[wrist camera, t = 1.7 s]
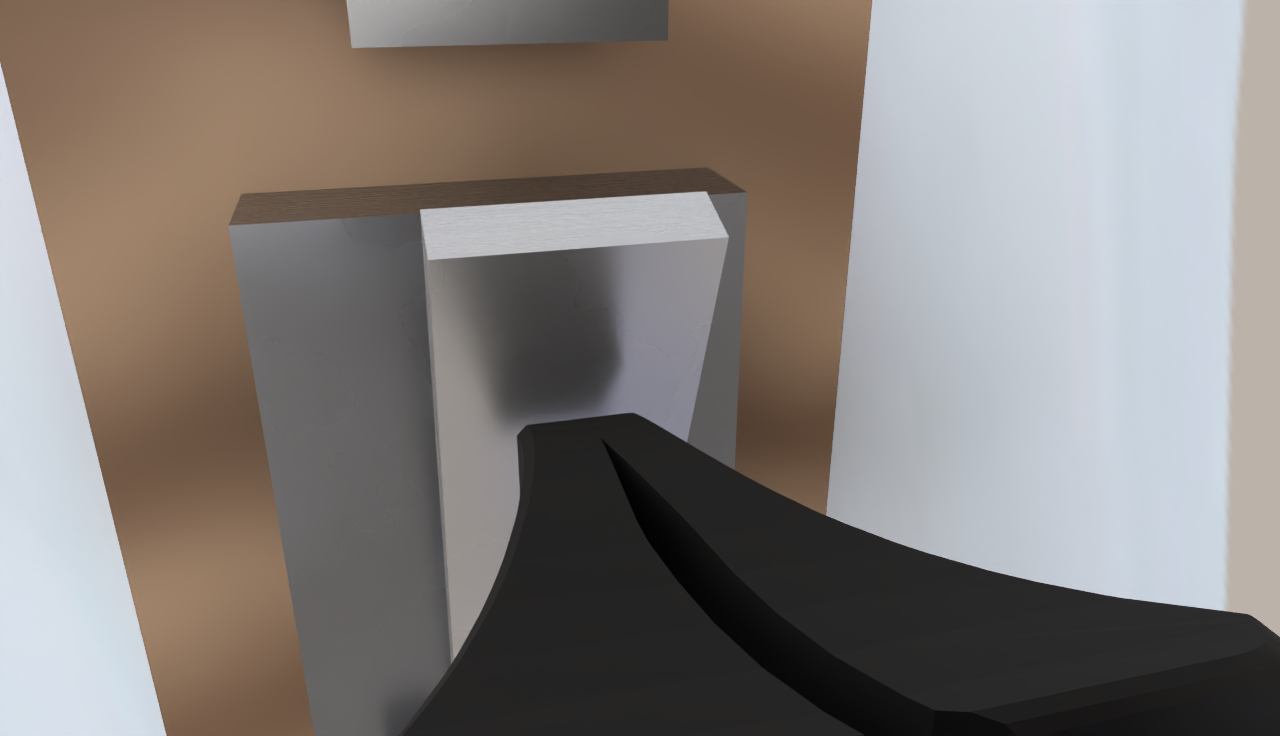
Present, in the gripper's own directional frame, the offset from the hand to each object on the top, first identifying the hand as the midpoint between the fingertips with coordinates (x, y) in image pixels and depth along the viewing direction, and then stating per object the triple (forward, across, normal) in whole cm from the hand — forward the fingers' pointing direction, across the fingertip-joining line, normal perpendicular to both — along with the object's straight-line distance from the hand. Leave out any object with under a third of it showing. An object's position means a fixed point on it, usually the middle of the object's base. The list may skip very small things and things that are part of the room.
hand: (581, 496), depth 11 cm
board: (+9, 0, +3) cm, 9 cm away
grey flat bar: (+3, 0, +3) cm, 4 cm away
